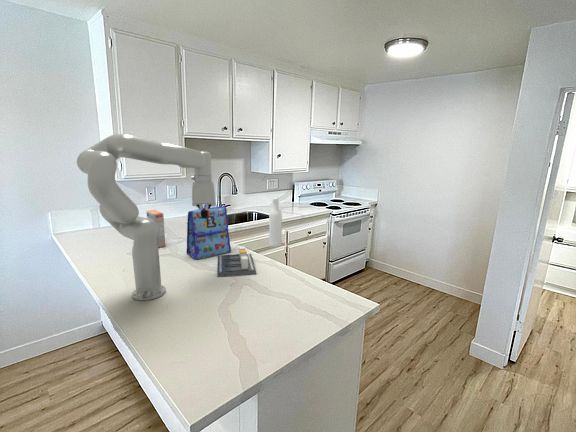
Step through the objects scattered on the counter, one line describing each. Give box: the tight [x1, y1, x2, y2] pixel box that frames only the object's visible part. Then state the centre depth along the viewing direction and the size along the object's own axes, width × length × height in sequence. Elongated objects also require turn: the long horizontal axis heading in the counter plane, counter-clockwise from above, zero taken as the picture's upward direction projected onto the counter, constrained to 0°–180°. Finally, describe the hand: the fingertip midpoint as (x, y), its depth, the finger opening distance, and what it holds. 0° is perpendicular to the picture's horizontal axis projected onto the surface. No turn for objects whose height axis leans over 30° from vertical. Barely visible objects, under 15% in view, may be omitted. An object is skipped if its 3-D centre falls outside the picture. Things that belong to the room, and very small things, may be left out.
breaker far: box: [238, 245, 246, 255], centre depth 162 cm, size 4×3×5 cm
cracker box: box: [146, 209, 166, 249], centre depth 186 cm, size 14×6×21 cm, turn 41°
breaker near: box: [241, 256, 248, 269], centre depth 147 cm, size 4×3×5 cm
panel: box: [216, 253, 257, 278], centre depth 154 cm, size 24×18×2 cm
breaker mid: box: [240, 249, 248, 261], centre depth 154 cm, size 4×3×6 cm
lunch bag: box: [185, 204, 232, 261], centre depth 171 cm, size 22×14×29 cm, turn 129°
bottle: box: [268, 196, 283, 248], centre depth 186 cm, size 8×8×30 cm
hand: (204, 218), depth 142 cm, fingers closed
